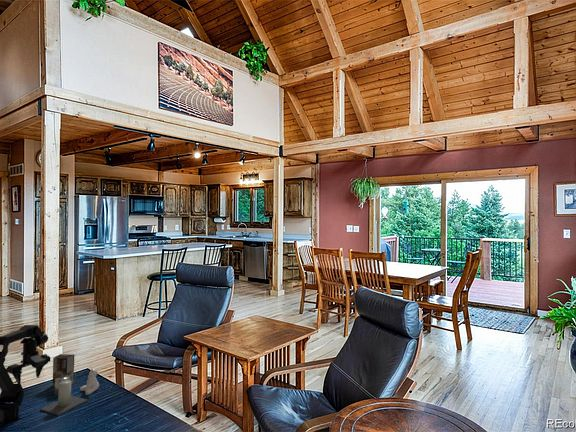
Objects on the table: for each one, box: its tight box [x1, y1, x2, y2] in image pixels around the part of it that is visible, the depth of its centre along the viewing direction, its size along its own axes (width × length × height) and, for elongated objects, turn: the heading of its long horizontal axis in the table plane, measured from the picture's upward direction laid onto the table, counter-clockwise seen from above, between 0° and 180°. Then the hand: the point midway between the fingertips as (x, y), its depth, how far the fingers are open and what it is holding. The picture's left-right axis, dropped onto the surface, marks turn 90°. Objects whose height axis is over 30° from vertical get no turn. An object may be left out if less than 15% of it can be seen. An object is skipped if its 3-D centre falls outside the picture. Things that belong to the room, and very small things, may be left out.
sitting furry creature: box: [79, 368, 100, 396], centre depth 205 cm, size 10×9×12 cm
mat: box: [40, 395, 88, 417], centre depth 187 cm, size 16×13×1 cm
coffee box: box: [52, 353, 75, 387], centre depth 213 cm, size 9×6×16 cm
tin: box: [54, 375, 70, 396], centre depth 202 cm, size 7×7×8 cm
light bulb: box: [57, 380, 72, 407], centre depth 187 cm, size 6×6×11 cm
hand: (28, 380), depth 186 cm, fingers open, 9 cm apart
